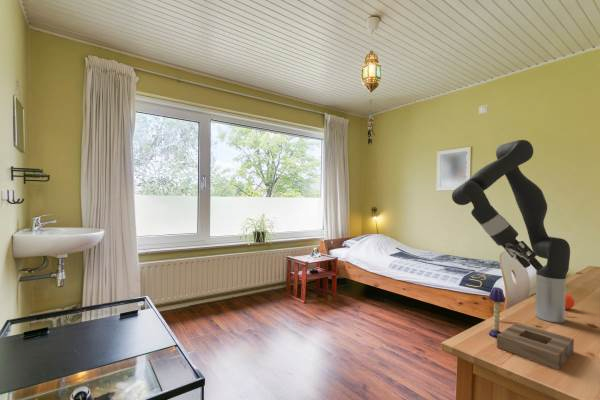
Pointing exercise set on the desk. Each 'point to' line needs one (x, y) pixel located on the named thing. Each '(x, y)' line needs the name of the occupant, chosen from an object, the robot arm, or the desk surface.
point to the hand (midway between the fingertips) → (533, 267)
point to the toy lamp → (496, 309)
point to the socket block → (536, 344)
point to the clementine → (568, 301)
